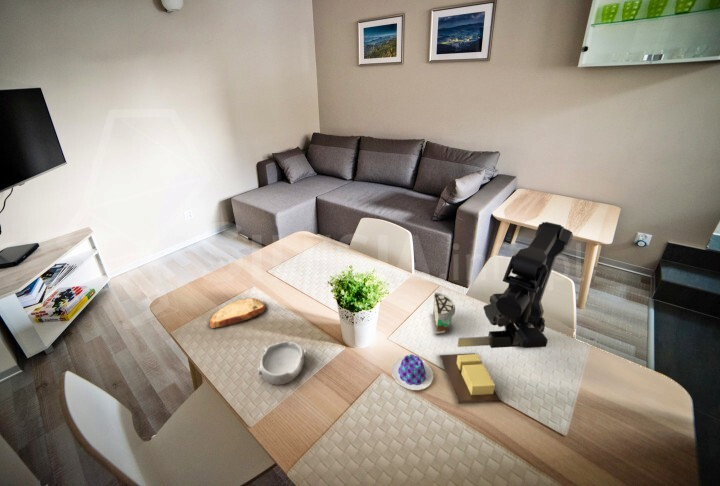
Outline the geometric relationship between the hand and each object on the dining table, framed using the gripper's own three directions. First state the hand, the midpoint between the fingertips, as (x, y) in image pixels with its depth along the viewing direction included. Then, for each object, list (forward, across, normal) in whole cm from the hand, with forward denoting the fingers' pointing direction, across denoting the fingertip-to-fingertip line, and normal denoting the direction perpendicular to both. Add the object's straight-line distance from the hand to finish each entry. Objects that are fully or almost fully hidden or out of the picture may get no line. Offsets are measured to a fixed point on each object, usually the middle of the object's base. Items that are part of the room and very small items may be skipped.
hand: (511, 341), depth 93 cm
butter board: (+11, +3, -12) cm, 17 cm away
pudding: (+11, +1, -28) cm, 30 cm away
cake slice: (+11, -18, -12) cm, 25 cm away
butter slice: (+10, 0, -11) cm, 15 cm away
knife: (+1, 0, -5) cm, 5 cm away
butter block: (+10, +6, -11) cm, 16 cm away
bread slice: (+11, -30, -88) cm, 94 cm away
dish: (+11, -4, -68) cm, 69 cm away
